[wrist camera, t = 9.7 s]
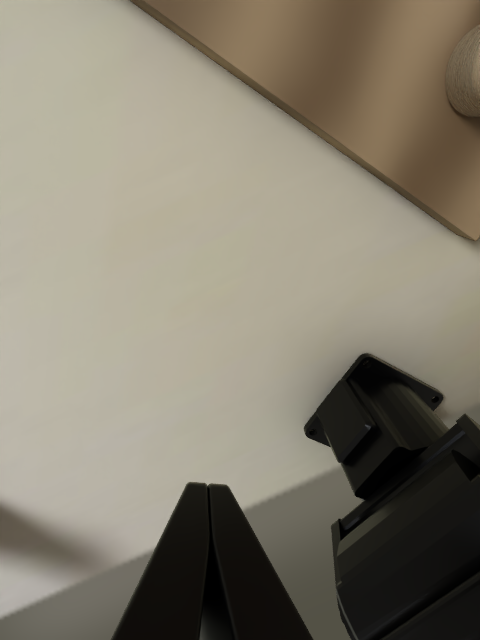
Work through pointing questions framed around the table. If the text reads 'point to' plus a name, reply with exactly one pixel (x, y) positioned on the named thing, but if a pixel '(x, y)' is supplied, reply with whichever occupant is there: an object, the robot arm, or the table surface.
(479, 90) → the bar with metal cap
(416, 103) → the brown cutting board
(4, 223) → the table surface
